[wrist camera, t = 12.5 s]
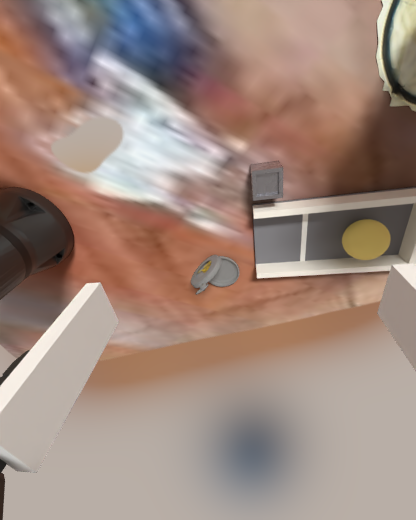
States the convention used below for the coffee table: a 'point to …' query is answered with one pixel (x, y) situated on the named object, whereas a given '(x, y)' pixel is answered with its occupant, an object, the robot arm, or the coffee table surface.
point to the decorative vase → (398, 51)
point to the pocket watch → (215, 272)
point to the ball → (366, 239)
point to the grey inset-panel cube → (267, 180)
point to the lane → (331, 233)
